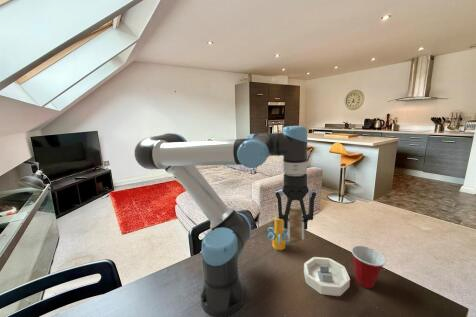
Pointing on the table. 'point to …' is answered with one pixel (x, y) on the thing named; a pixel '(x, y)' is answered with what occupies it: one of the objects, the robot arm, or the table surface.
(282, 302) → the table surface
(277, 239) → the yellow blue ringed piece
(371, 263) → the plastic cup
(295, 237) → the long cardboard-colored beam
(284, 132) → the robot arm
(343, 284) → the white octagonal tray
